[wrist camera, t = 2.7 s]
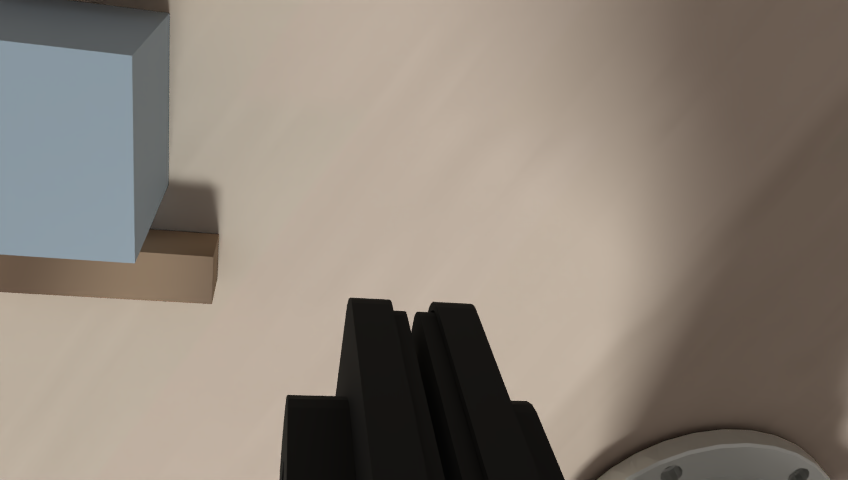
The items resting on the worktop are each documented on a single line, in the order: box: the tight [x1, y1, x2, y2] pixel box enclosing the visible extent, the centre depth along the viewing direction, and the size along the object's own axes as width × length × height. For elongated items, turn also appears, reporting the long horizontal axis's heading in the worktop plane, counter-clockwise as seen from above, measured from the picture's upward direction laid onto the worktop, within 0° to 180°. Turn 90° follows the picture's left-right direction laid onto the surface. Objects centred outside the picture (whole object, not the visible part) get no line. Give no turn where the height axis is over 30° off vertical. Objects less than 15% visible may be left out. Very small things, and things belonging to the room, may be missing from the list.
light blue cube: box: [0, 0, 170, 263], centre depth 19 cm, size 5×5×5 cm
